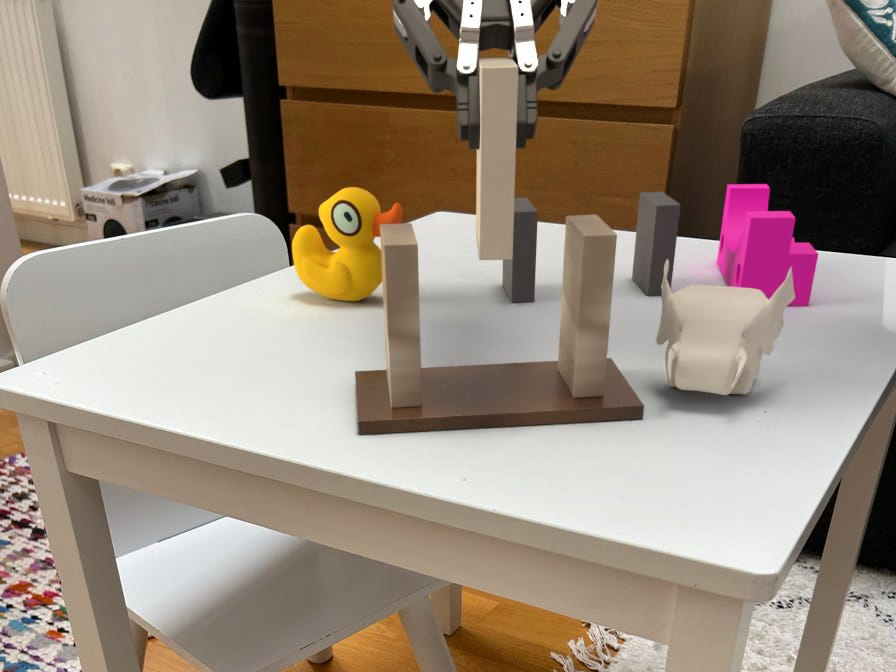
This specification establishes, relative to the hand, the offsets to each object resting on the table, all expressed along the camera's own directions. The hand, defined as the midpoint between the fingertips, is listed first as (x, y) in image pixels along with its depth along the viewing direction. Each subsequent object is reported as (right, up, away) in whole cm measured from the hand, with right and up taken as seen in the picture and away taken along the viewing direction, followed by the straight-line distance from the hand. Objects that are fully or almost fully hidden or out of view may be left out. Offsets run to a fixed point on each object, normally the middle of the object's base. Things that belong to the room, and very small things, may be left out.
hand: (497, 139), depth 62 cm
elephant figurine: (+17, -13, +12) cm, 24 cm away
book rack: (+1, -13, +12) cm, 18 cm away
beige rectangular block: (0, -5, +6) cm, 7 cm away
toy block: (+28, +4, +35) cm, 45 cm away
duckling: (-12, +2, +34) cm, 36 cm away
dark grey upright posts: (+11, +3, +35) cm, 37 cm away
